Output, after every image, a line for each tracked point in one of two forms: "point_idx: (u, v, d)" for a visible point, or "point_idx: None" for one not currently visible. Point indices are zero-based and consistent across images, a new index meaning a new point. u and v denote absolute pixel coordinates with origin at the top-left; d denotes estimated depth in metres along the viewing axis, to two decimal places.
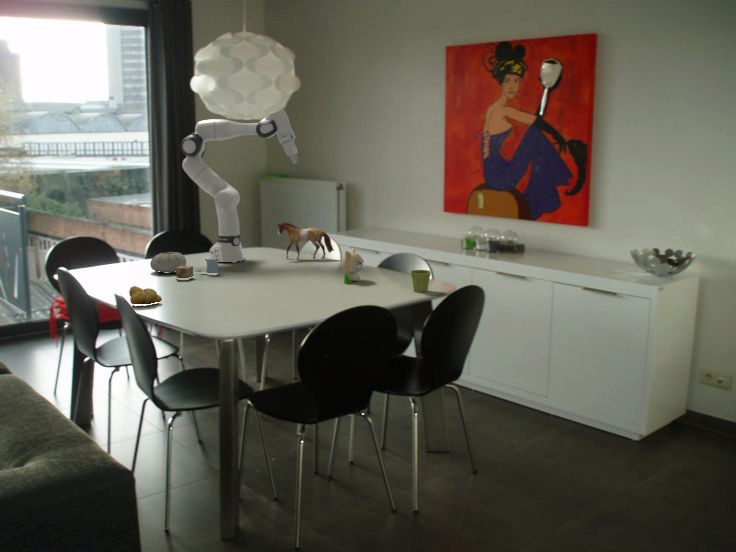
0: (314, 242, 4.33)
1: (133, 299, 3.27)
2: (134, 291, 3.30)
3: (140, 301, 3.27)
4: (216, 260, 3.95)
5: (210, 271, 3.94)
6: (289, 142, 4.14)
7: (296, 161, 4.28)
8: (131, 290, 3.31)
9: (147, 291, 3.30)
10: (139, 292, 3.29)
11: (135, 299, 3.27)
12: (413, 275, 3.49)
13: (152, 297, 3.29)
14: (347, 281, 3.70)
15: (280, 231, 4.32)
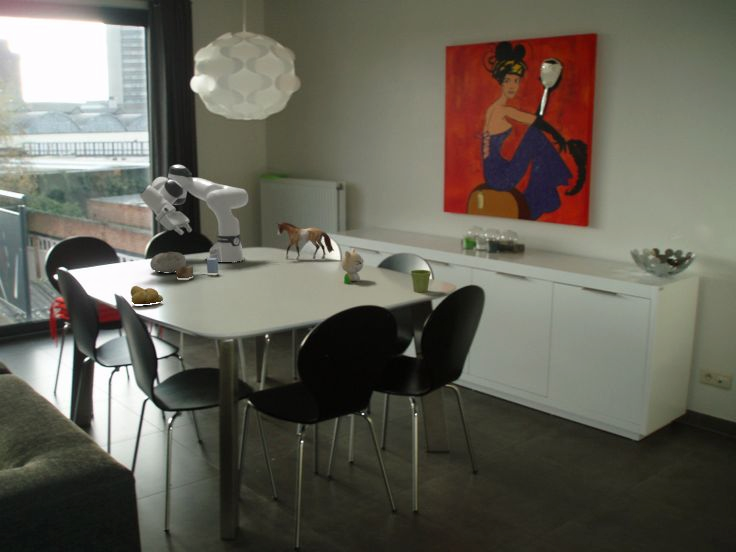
0: (314, 242, 4.33)
1: (134, 299, 3.28)
2: (135, 291, 3.31)
3: (141, 301, 3.27)
4: (216, 260, 3.95)
5: (210, 271, 3.94)
6: (164, 216, 3.85)
7: (189, 230, 3.98)
8: (132, 290, 3.32)
9: (148, 291, 3.31)
10: (140, 292, 3.29)
11: (136, 298, 3.27)
12: (413, 275, 3.49)
13: (153, 297, 3.29)
14: (347, 281, 3.70)
15: (280, 231, 4.32)
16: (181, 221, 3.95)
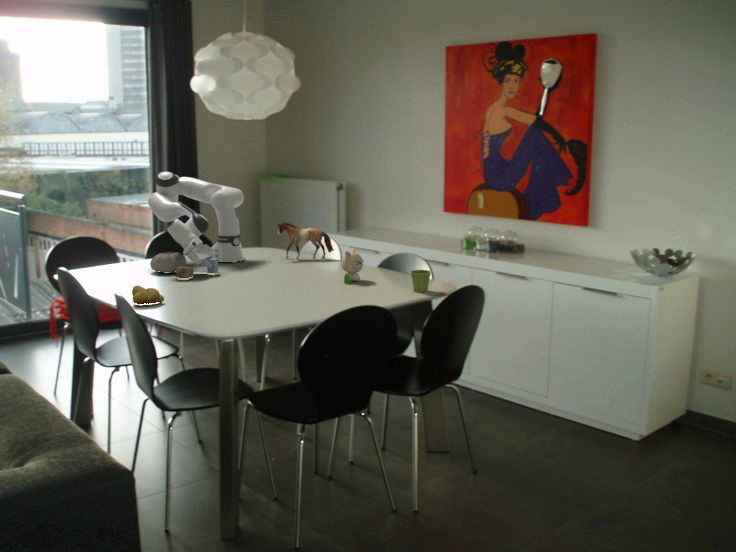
0: (314, 242, 4.33)
1: (135, 298, 3.28)
2: (136, 290, 3.31)
3: (142, 301, 3.28)
4: (216, 260, 3.95)
5: (210, 271, 3.94)
6: (192, 250, 3.87)
7: None
8: (134, 289, 3.32)
9: (149, 291, 3.31)
10: (141, 292, 3.29)
11: (137, 298, 3.28)
12: (413, 275, 3.49)
13: (154, 297, 3.30)
14: (347, 281, 3.70)
15: (280, 231, 4.32)
16: (208, 255, 3.96)
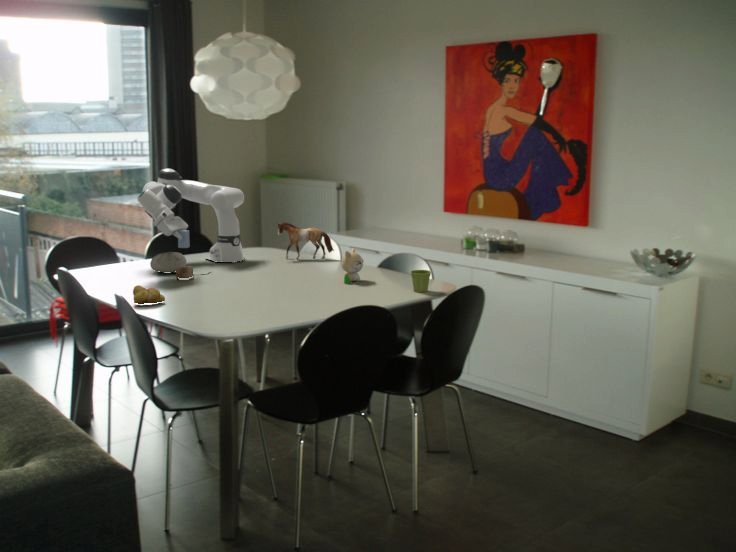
0: (314, 242, 4.33)
1: (136, 298, 3.29)
2: (137, 290, 3.31)
3: (143, 300, 3.28)
4: (187, 232, 3.84)
5: (181, 243, 3.83)
6: (162, 221, 3.75)
7: None
8: (134, 289, 3.32)
9: (150, 291, 3.31)
10: (142, 291, 3.30)
11: (137, 298, 3.28)
12: (413, 275, 3.49)
13: (154, 297, 3.30)
14: (347, 281, 3.70)
15: (280, 231, 4.32)
16: (179, 226, 3.84)
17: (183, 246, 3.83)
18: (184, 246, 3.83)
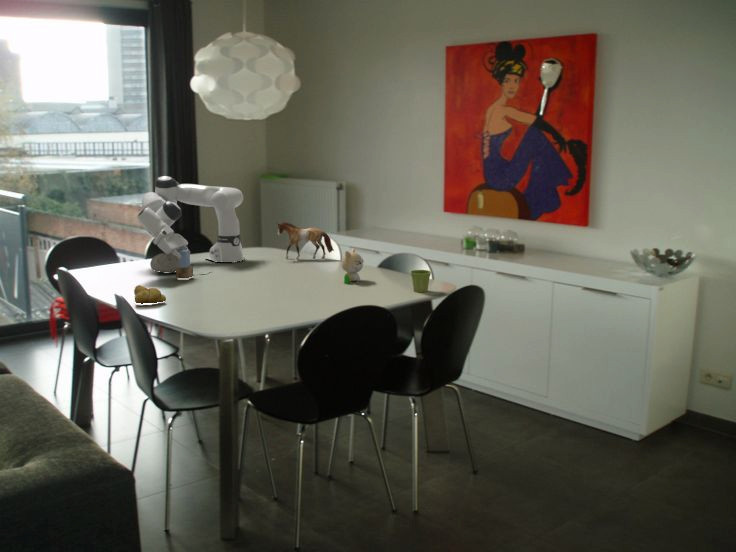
0: (314, 242, 4.33)
1: (136, 298, 3.29)
2: (138, 290, 3.32)
3: (143, 300, 3.28)
4: (188, 252, 3.85)
5: (181, 263, 3.84)
6: (162, 239, 3.76)
7: None
8: (136, 289, 3.33)
9: (151, 290, 3.31)
10: (143, 291, 3.30)
11: (138, 298, 3.28)
12: (413, 275, 3.49)
13: (155, 297, 3.30)
14: (347, 281, 3.70)
15: (280, 231, 4.32)
16: (179, 244, 3.85)
17: (184, 266, 3.84)
18: (185, 266, 3.84)
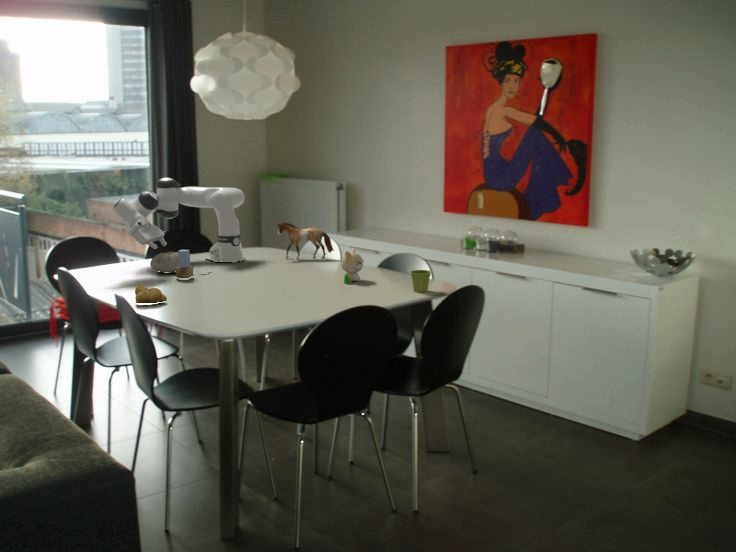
0: (314, 242, 4.33)
1: (137, 298, 3.29)
2: (139, 290, 3.32)
3: (144, 300, 3.29)
4: (188, 252, 3.85)
5: (182, 263, 3.84)
6: (137, 230, 3.77)
7: (163, 244, 3.90)
8: (136, 289, 3.33)
9: (151, 290, 3.32)
10: (143, 291, 3.30)
11: (139, 298, 3.29)
12: (413, 275, 3.49)
13: (156, 296, 3.30)
14: (347, 281, 3.70)
15: (280, 231, 4.32)
16: (155, 235, 3.86)
17: (184, 266, 3.84)
18: (185, 266, 3.84)
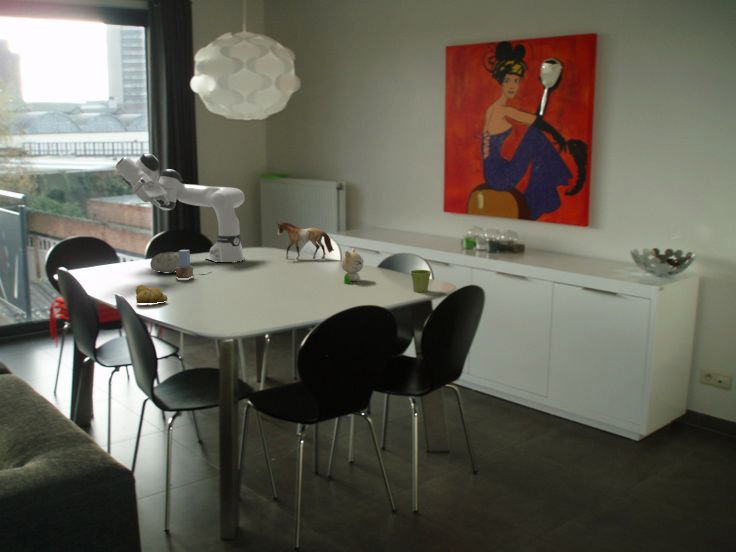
0: (314, 242, 4.33)
1: (138, 298, 3.29)
2: (140, 290, 3.32)
3: (144, 300, 3.29)
4: (188, 252, 3.85)
5: (182, 263, 3.84)
6: (140, 187, 3.74)
7: (166, 203, 3.87)
8: (137, 289, 3.33)
9: (152, 290, 3.32)
10: (144, 291, 3.30)
11: (139, 298, 3.29)
12: (413, 275, 3.49)
13: (156, 296, 3.30)
14: (347, 281, 3.70)
15: (280, 231, 4.32)
16: (158, 193, 3.83)
17: (184, 266, 3.84)
18: (185, 266, 3.84)
